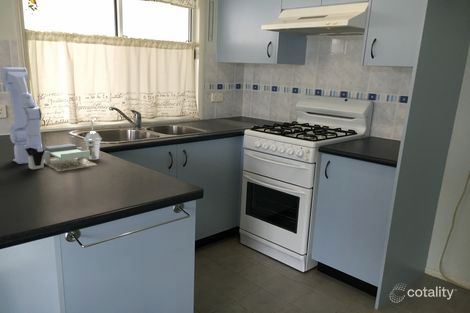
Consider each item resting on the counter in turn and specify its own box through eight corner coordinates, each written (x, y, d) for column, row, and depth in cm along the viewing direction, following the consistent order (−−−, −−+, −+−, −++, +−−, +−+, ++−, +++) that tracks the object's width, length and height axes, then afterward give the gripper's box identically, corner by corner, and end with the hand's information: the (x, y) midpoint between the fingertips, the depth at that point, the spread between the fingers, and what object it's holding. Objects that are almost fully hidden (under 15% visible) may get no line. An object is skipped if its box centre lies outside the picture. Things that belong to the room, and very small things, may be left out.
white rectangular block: (28, 167, 172) (27, 155, 170) (40, 165, 175) (39, 154, 174) (31, 169, 169) (30, 157, 168) (43, 167, 172) (42, 155, 171)
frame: (40, 161, 183) (39, 149, 181) (76, 156, 195) (76, 145, 194) (58, 171, 168) (57, 158, 166) (96, 165, 180) (96, 152, 179)
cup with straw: (81, 159, 191) (78, 119, 186) (95, 155, 199) (93, 117, 194) (93, 161, 187) (91, 120, 182) (107, 157, 195) (105, 118, 190)
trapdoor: (45, 155, 184) (44, 146, 183) (72, 152, 193) (71, 143, 192) (62, 163, 169) (61, 154, 168) (90, 159, 178) (90, 150, 177)
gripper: (18, 133, 171) (21, 162, 174) (29, 138, 161) (32, 169, 164) (35, 131, 176) (37, 160, 179) (46, 136, 166) (49, 166, 169)
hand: (36, 164), depth 172 cm, fingers closed on white rectangular block, 4 cm apart
